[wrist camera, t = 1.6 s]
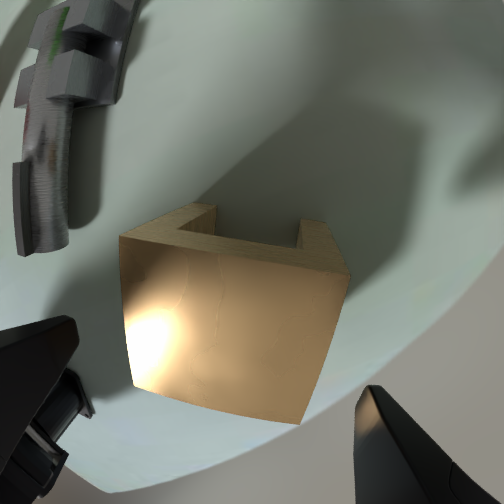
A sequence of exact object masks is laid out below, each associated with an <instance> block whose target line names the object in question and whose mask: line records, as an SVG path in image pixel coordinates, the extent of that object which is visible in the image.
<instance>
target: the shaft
mask: <svg viewBox="0 0 504 504" xmlns="http://www.w3.org/2000/svg"><path fill="white" fill-rule="evenodd" d="M139 1H140V0H66V1H64V2H62V3H60V4H58V5H56V6H54V7H52V8H50V9H48V10H46V11H44V12H43V13H41V14H39V15H38V16H37V19H36V22H35V25H34V27H33V30H32V33H31V36H30V39H29V43H28V46H27V47H29V48H34V49H38V50H39V52H38V56H37V59H36V63H35V64H34V65H32V66H29V67H27V68H25V69H23V70H21V72H20V77H19V81H18V86H17V91H16V97H15V103H14V108H27V109H26V116H25V124H24V133H23V145H22V162H16V163H13V177H12V185H13V213H14V227H15V237H16V245H17V253H18V255H20V256H23V257H26V256H28V255H31V254H33V253H47V252H53V251H56V250H60V249H62V248H64V247H66V246H67V245H68V244H69V233H68V207H67V184H68V159H69V145H70V134H71V125H72V117H73V110H75V109H81V108H88V107H96V106H105V105H114V104H115V102H116V96H117V90H118V84H119V79H120V74H121V69H122V64H123V59H124V55H125V51H126V47H127V43H128V39H129V35H130V31H131V28H132V24H133V21H134V17H135V14H136V11H137V7H138V4H139Z"/></svg>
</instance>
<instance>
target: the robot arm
mask: <svg viewBox="0 0 504 504" xmlns="http://www.w3.org/2000/svg"><path fill="white" fill-rule="evenodd" d="M78 345H79V335H78V331H77V326H76V322H75V320H74V319H73V318H71V317H69V316H67V315H61V316H57V317H53V318H49V319H45V320H42V321H38V322H34V323H30V324H26V325H22V326H18V327H14V328H10V329H6V330H2V331H0V504H32V502H33V501H34V500H35V499H36V498H39V499H40V498H43V497H44V496H45V495H47V494H48V493H49V491H50V490H51V489H52V487H53V486H54V484H55V482H56V479H57V477H58V476H59V474H60V471H61V469H62V467H63V465H64V463H65V461H66V459H67V457H68V455H69V454H68V453H67V452H66V451H65V450H63V449H62V448H60V447H59V446H58V445H57V444H56V442H57V441H58V439H59V438H60V437H61V435H62V434H63V433H64V432H65V430H66V429H67V428H68V426H69V425H70V424H71V422H72V421H73V420H74V419H75V417H76V416H77V415H78V413H79V414H81V415H83V416H85V417H87V418H89V419H91V417H92V416H93V415H92V413H91V410H90V408H89V405H88V403H87V400H86V397H85V395H84V392H83V389H82V386H81V384H80V381H79V378H78V376H77V375H76V374H75V373H73V372H71V371H69V370H68V369H66V366H67V364H68V362H69V360H70V359H71V357H72V355H73V354H74V352H75V350H76V348H77V347H78ZM353 456H354V476H355V496H356V498H355V499H356V500H355V501H356V504H501V503H500V502H499V501H497V500H496V499H495V498H494V497H492V496H491V495H490V494H489V493H487V492H486V491H485V490H484V489H482V488H481V487H480V486H479V485H478V484H477V483H475V482H474V481H473V480H472V479H471V478H470V477H469V476H468V475H467V474H466V473H465V472H464V471H463V470H462V469H461V468H460V467H459V466H458V465H457V464H456V463H455V462H452V459H451V458H450V457H449V456H448V455H447V454H446V453H445V452H444V451H443V450H442V449H441V447H440V446H439V445H438V444H437V443H436V442H435V441H434V440H433V439H432V438H431V437H430V436H429V435H428V434H427V433H426V432H425V431H424V430H423V429H422V428H421V427H420V426H419V425H418V424H417V423H416V422H415V421H414V420H413V418H412V417H411V416H410V415H409V414H408V413H407V412H406V411H405V410H404V409H403V408H402V407H401V406H400V405H399V404H398V403H397V402H396V401H395V400H394V399H393V398H392V397H391V396H390V395H389V394H388V392H387V391H385V389H384V388H383V387H382V386H379V385H367V386H366V387H365V389H364V390H363V392H362V394H361V396H360V398H359V400H358V402H357V404H356V407H355V427H354V452H353Z"/></svg>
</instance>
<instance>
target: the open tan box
mask: <svg viewBox="0 0 504 504" xmlns="http://www.w3.org/2000/svg"><path fill="white" fill-rule="evenodd" d="M216 213H217V205H210V204H203V203H196V202H193V203H191V204H189V205H186V206H184V207H181V208H179V209H177V210H174V211H172V212H170V213H167V214H165V215H163V216H161V217H158V218H156V219H154V220H152V221H149V222H147V223H145V224H143V225H141V226H138V227H136V228H134V229H132V230H130V231H128V232H126V233H123V234H121V235H119V259H120V279H121V293H122V304H123V315H124V324H125V332H126V340H127V347H128V353H129V360H130V366H131V372H132V377H133V382H134V386H137V387H139V388H142V389H145V390H148V391H151V392H154V393H157V394H160V395H163V396H166V397H169V398H173V399H176V400H179V401H183V402H186V403H190V404H193V405H197V406H201V407H205V408H209V409H213V410H217V411H222V412H226V413H231V414H235V415H240V416H245V417H251V418H256V419H262V420H268V421H275V422H282V423H289V424H298V425H300V423H301V420H302V418H303V416H304V413H305V411H306V408H307V406H308V403H309V401H310V398H311V396H312V393H313V391H314V388H315V386H316V383H317V380H318V378H319V375H320V372H321V370H322V367H323V364H324V361H325V358H326V356H327V353H328V350H329V347H330V344H331V341H332V338H333V335H334V332H335V328H336V325H337V322H338V319H339V316H340V312H341V309H342V306H343V302H344V299H345V295H346V292H347V288H348V284H349V281H350V277H351V275H350V273H349V271H348V269H347V266H346V264H345V262H344V260H343V258H342V255H341V253H340V251H339V249H338V247H337V245H336V243H335V241H334V238H333V236H332V234H331V232H330V230H329V228H328V226H327V224H326V223H324V222H318V221H313V220H307V219H301V220H300V226H299V232H298V238H297V243H296V249H293V248H287V247H281V246H275V245H269V244H264V243H258V242H252V241H245V240H239V239H233V238H227V237H221V236H215V235H214V234H215V223H216Z"/></svg>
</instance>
